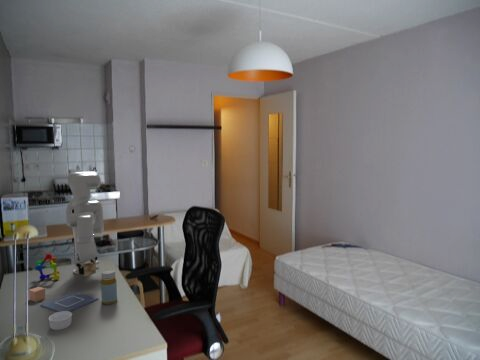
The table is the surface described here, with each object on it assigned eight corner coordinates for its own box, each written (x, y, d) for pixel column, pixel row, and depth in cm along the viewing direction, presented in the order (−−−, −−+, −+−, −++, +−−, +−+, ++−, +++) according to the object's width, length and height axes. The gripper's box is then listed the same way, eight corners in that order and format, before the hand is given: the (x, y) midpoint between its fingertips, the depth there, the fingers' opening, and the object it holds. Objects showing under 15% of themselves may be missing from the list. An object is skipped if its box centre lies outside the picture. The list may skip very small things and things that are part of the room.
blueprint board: (74, 292, 185) (74, 290, 185) (97, 299, 176) (97, 297, 176) (40, 305, 169) (40, 304, 169) (64, 314, 161) (64, 312, 160)
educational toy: (33, 280, 206) (31, 254, 205) (58, 275, 213) (56, 250, 213) (38, 285, 193) (36, 257, 193) (64, 280, 201) (62, 253, 201)
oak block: (88, 270, 191) (87, 261, 191) (95, 272, 189) (95, 263, 188) (78, 274, 186) (77, 264, 186) (86, 276, 183) (85, 267, 183)
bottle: (112, 305, 169) (110, 274, 168) (98, 304, 171) (97, 273, 169) (119, 299, 176) (118, 269, 175) (106, 298, 178) (105, 268, 176)
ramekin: (75, 325, 150) (75, 315, 150) (53, 333, 144) (52, 323, 144) (68, 318, 157) (67, 309, 156) (46, 325, 151) (45, 315, 150)
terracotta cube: (39, 296, 181) (38, 286, 180) (45, 298, 178) (44, 288, 178) (29, 299, 176) (29, 290, 176) (35, 301, 174) (35, 292, 173)
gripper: (94, 233, 194) (96, 265, 197) (65, 241, 179) (67, 276, 182) (104, 236, 191) (105, 268, 193) (75, 244, 176) (77, 279, 178)
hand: (87, 272), depth 187 cm, fingers closed on oak block, 6 cm apart
